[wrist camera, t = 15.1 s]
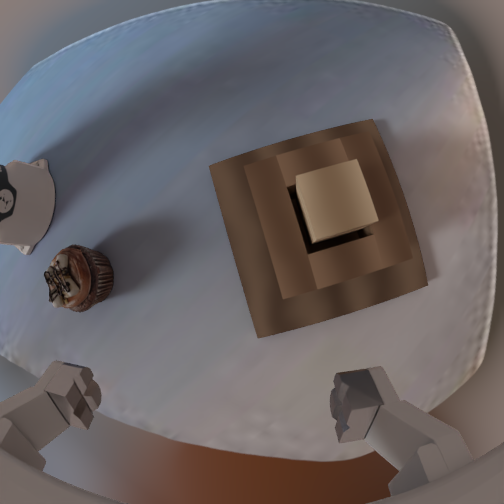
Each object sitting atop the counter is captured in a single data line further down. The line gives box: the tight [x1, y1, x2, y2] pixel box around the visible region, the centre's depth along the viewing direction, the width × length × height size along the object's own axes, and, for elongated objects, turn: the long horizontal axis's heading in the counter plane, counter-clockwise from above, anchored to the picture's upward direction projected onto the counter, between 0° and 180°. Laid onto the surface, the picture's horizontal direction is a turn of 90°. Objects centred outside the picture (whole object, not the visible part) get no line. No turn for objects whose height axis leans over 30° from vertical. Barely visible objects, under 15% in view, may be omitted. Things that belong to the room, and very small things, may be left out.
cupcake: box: [44, 245, 114, 312], centre depth 34 cm, size 10×10×10 cm
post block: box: [209, 119, 428, 338], centre depth 28 cm, size 22×22×10 cm
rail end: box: [296, 159, 379, 246], centre depth 23 cm, size 4×4×11 cm
